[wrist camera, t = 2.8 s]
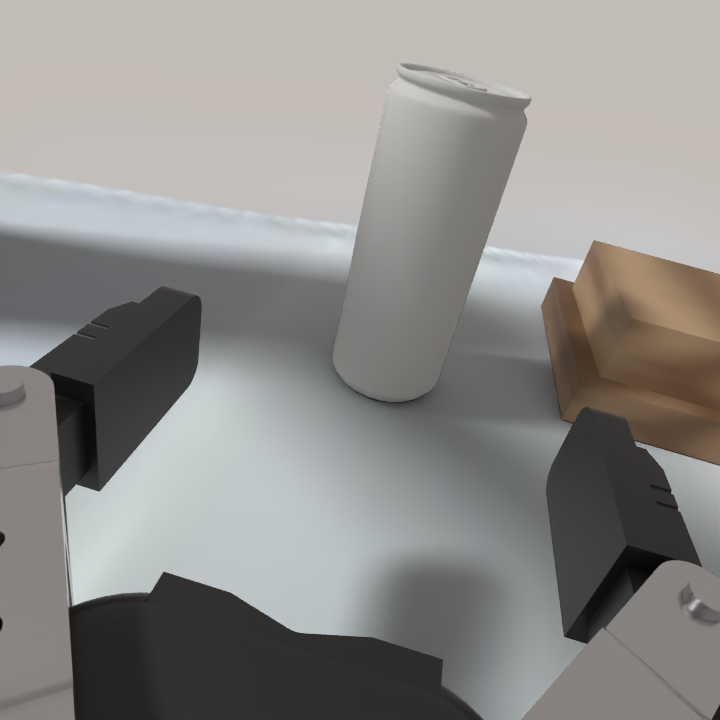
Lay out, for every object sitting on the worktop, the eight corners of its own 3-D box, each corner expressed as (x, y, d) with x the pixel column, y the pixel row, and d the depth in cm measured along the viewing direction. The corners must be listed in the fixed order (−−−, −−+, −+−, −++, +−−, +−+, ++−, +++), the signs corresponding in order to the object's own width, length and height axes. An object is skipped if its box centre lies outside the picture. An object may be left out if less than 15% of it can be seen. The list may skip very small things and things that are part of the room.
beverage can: (354, 414, 22) (440, 84, 16) (312, 347, 26) (369, 54, 19) (454, 402, 24) (566, 107, 18) (403, 342, 28) (482, 76, 21)
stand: (561, 419, 25) (611, 322, 22) (541, 305, 35) (574, 229, 33) (835, 498, 24) (920, 408, 22) (733, 359, 34) (783, 286, 32)
